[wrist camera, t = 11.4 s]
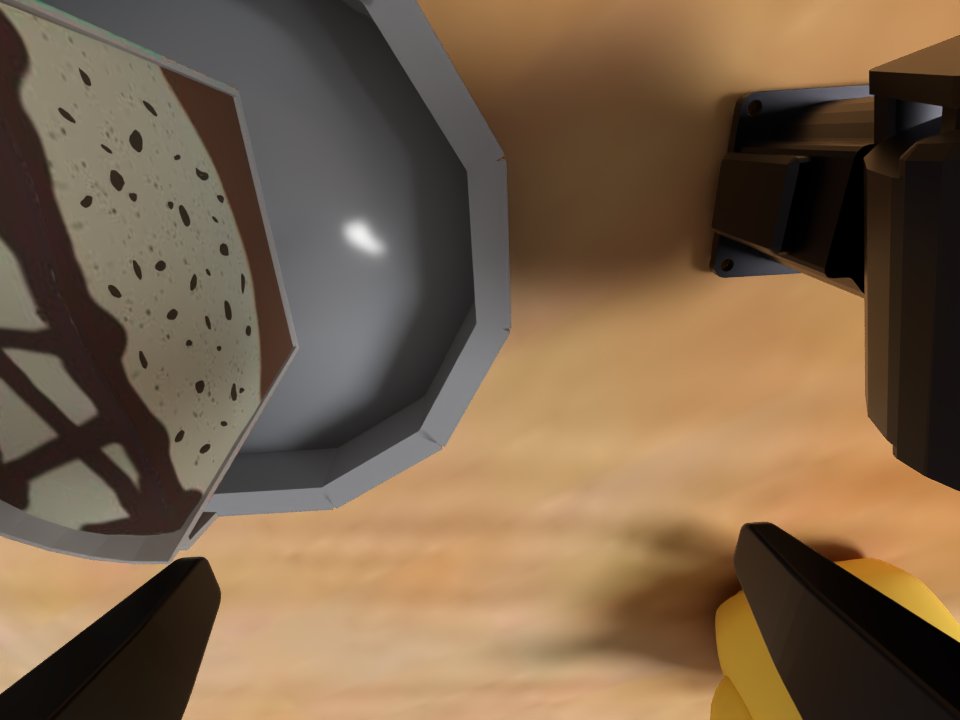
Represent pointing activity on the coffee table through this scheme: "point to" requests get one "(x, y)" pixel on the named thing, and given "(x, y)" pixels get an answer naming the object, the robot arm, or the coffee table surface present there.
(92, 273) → the food container
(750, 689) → the teapot
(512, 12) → the coffee table surface
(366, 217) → the bowl
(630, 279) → the coffee table surface
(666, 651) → the coffee table surface
